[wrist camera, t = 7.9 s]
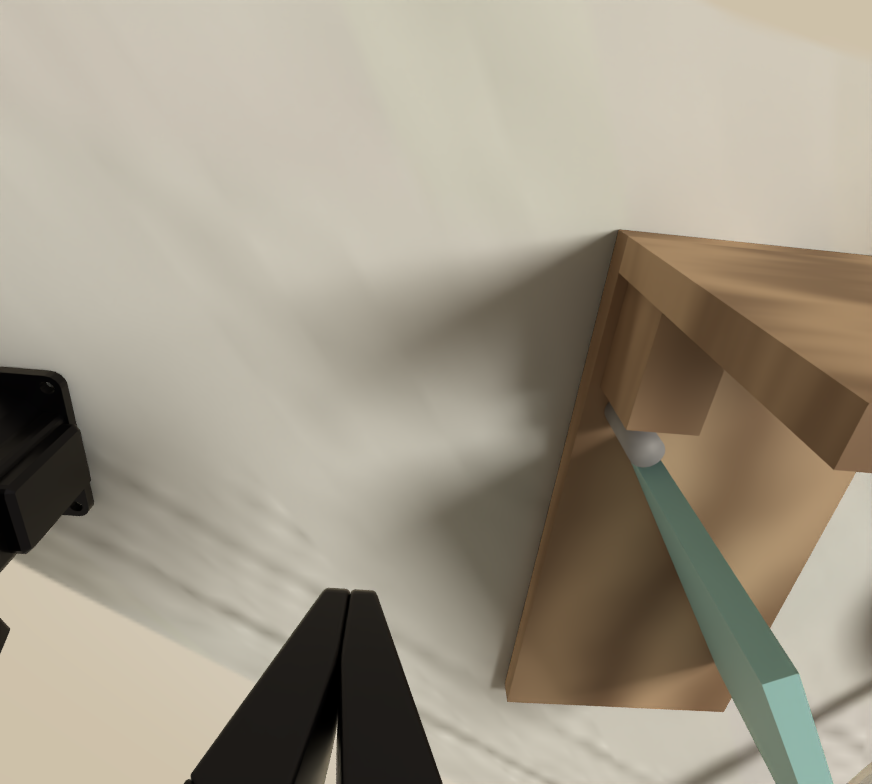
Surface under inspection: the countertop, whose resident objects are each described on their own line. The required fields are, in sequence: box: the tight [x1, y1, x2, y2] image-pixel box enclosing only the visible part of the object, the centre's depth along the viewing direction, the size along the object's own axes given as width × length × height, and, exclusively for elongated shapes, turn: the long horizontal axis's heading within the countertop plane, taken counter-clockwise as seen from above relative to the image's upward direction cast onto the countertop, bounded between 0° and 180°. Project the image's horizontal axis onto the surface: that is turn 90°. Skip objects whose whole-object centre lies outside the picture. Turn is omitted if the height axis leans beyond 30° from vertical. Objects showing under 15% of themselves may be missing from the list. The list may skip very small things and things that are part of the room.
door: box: [604, 402, 833, 784], centre depth 20 cm, size 1×17×10 cm, turn 27°
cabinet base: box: [505, 230, 872, 712], centre depth 19 cm, size 12×24×12 cm, turn 174°
